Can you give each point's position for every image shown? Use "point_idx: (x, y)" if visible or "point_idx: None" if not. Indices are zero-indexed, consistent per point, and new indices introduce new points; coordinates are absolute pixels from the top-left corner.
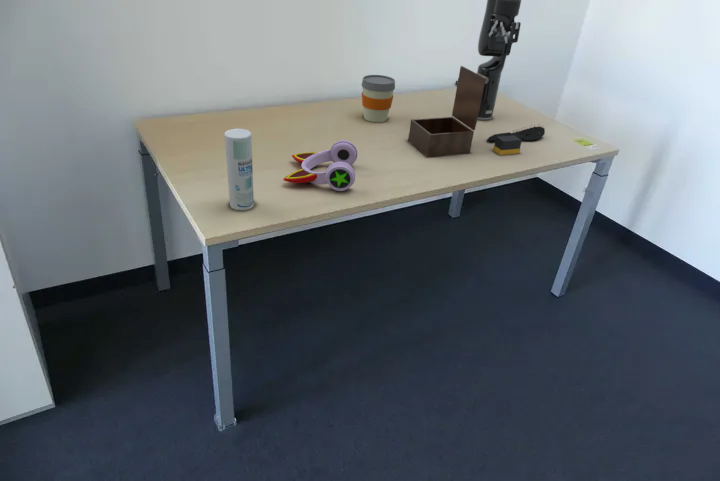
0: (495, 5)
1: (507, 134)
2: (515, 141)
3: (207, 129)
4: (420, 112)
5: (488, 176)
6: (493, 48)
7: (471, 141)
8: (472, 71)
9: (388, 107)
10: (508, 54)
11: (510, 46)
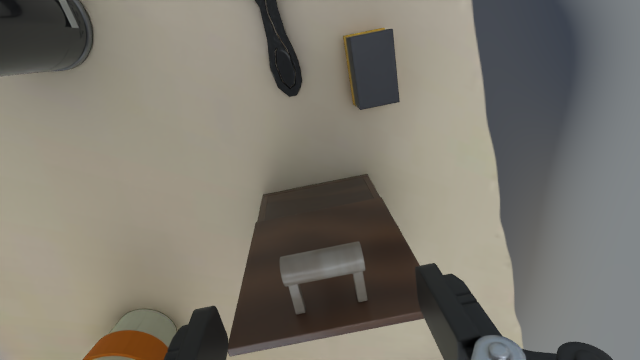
0: None
1: (279, 24)
2: (394, 55)
3: None
4: (64, 220)
5: (494, 174)
6: (215, 312)
7: (374, 187)
8: (327, 331)
9: (156, 342)
10: (434, 269)
11: (490, 329)
